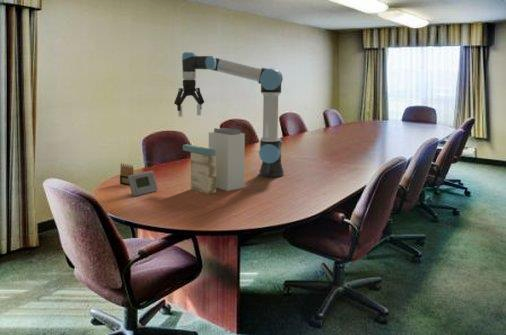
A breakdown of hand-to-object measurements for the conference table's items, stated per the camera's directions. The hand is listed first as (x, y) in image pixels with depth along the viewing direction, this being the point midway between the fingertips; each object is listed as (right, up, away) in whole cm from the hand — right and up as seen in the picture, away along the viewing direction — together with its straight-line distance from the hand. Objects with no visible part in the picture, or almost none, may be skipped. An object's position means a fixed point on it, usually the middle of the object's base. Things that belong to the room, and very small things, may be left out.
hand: (189, 116), depth 270 cm
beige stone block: (+11, -43, -26) cm, 51 cm away
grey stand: (+23, -41, -17) cm, 50 cm away
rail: (+9, -23, -27) cm, 37 cm away
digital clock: (-20, -44, -33) cm, 59 cm away
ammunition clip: (-32, -41, -16) cm, 55 cm away
